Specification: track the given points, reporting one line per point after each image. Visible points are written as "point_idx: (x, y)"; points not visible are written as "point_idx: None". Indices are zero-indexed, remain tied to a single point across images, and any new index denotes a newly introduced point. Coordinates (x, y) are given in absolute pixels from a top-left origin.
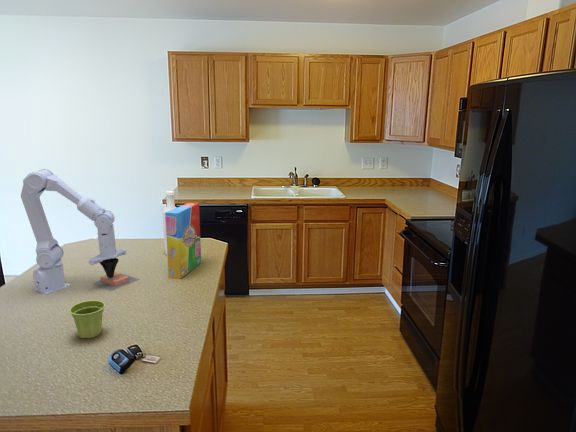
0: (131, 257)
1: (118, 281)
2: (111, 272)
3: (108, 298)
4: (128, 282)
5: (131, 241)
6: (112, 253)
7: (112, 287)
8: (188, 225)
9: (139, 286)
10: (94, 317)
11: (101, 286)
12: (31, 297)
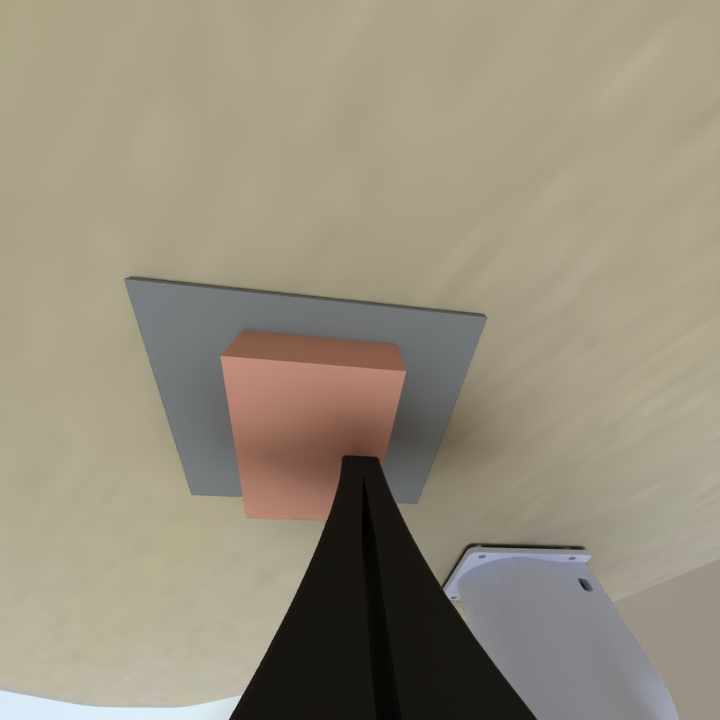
0: (10, 586)
1: (367, 364)
2: (378, 508)
3: (645, 204)
4: (260, 323)
5: None
6: None
7: (418, 360)
8: None
9: (239, 114)
10: None
11: (430, 437)
12: (614, 561)
